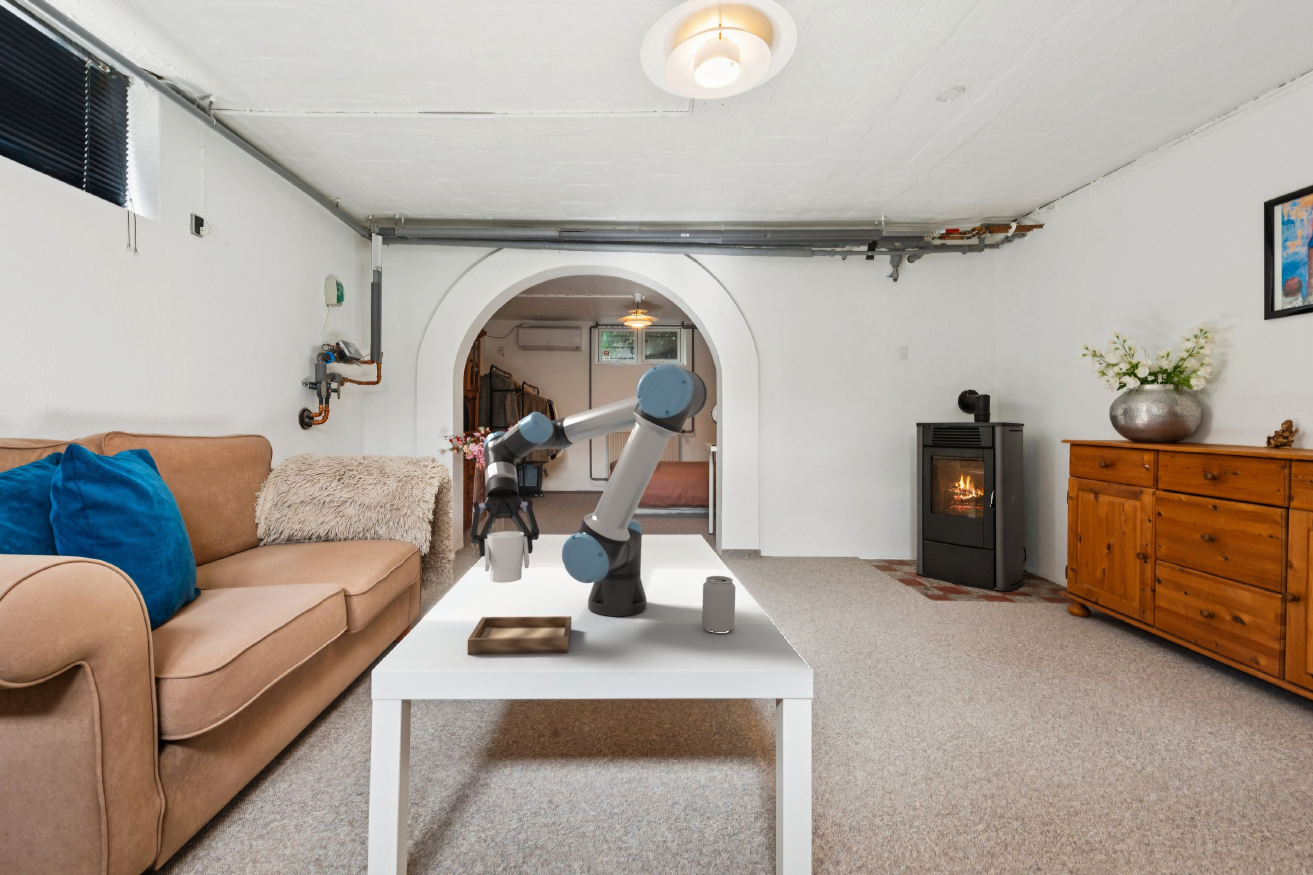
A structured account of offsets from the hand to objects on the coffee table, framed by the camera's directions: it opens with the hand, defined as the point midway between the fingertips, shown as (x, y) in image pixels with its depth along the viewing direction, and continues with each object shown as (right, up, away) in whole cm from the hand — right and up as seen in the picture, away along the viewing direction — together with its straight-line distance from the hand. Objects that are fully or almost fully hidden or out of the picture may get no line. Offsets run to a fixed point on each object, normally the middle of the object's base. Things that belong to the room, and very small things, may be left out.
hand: (507, 566), depth 123 cm
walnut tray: (+3, -16, -1) cm, 16 cm away
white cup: (-1, -4, +3) cm, 5 cm away
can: (+47, -17, +10) cm, 51 cm away
